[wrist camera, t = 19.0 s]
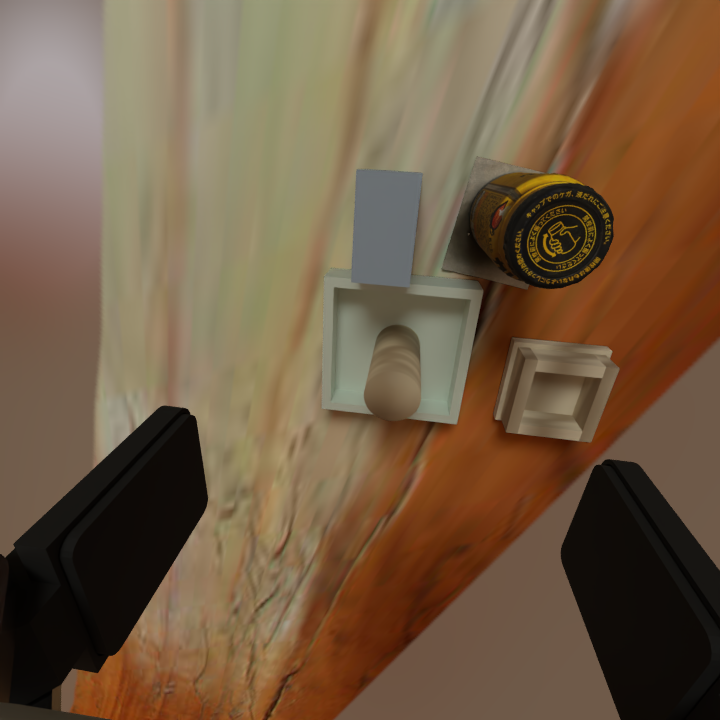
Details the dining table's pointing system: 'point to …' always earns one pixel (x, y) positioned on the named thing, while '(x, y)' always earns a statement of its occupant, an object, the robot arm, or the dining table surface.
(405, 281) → the block
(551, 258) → the condiment
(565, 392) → the socket block
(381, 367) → the dowel
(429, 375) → the tray
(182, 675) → the dining table surface
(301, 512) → the dining table surface
